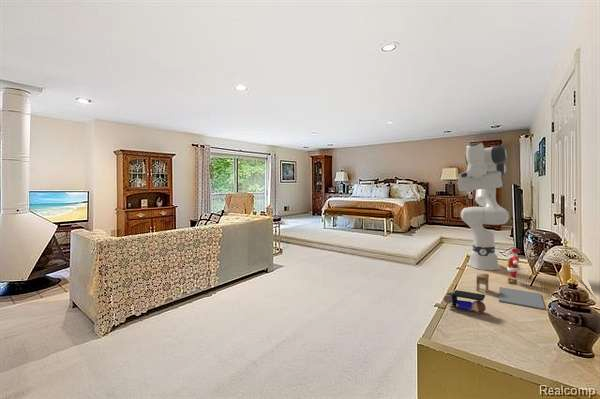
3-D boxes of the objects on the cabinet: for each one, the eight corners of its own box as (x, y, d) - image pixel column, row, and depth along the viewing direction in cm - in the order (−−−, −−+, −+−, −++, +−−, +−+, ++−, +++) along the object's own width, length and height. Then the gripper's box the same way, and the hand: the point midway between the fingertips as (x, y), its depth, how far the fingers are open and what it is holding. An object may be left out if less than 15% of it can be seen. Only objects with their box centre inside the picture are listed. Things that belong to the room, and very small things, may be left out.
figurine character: (444, 310, 124) (485, 316, 114) (442, 293, 125) (482, 297, 115) (448, 305, 130) (487, 310, 120) (446, 288, 130) (485, 292, 120)
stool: (476, 287, 146) (476, 271, 146) (488, 289, 143) (489, 273, 143) (476, 290, 142) (476, 274, 142) (488, 292, 139) (488, 276, 139)
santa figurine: (506, 275, 165) (506, 243, 164) (519, 276, 161) (519, 244, 160) (507, 288, 144) (507, 252, 143) (521, 290, 141) (522, 253, 140)
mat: (499, 288, 145) (499, 287, 145) (540, 294, 135) (540, 293, 135) (498, 301, 129) (498, 300, 129) (544, 309, 119) (545, 308, 119)
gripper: (502, 169, 147) (505, 195, 147) (458, 174, 161) (461, 198, 162) (499, 169, 142) (503, 196, 143) (455, 175, 157) (458, 199, 157)
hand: (480, 197), depth 152 cm, fingers open, 8 cm apart
